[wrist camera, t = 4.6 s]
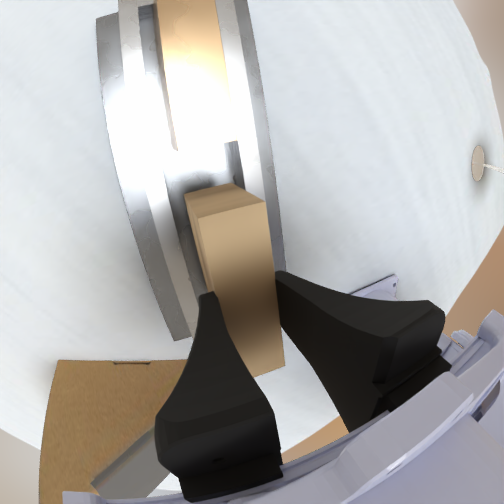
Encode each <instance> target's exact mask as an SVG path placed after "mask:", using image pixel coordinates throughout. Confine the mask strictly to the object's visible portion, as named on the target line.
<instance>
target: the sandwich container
mask: <svg viewBox="0 0 504 504" xmlns="http://www.w3.org/2000/svg"><path fill="white" fill-rule="evenodd" d="M138 362H144V363H138ZM186 362H187V360H152V361H80V360H58V363H57V367H56V370H55V374H54V378H53V382H52V386H51V391H50V395H49V400H48V405H47V411H46V416H45V423H44V429H43V437H42V445H41V455H40V468H39V504H63V497H62V492H63V491H72V492H89V493H93V494H96V495H99V496H101V497H102V498H104V499H105V500H113V499H135V498H146V497H147V496H148V495H149V494H150V493H151V492H152V491H153V490H154V489H155V488H156V487H157V486H158V485H159V484H160V483H161V482H162V481H163V480H164V479H165V478H166V477H167V476H168V475H169V473H170V471H168V470H167V469H166V468H164V467H163V466H162V465H161V464H160V463H159V461H158V457H157V452H156V447H155V438H154V428H155V416H156V415H157V413H158V412H159V410H160V409H161V408H162V406H163V405H164V403H165V402H166V400H167V399H168V397H169V396H170V394H171V393H172V391H173V389H174V387H175V385H176V383H177V382H178V380H179V378H180V376H181V374H182V372H183V369H184V367H185V365H186Z"/></svg>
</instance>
